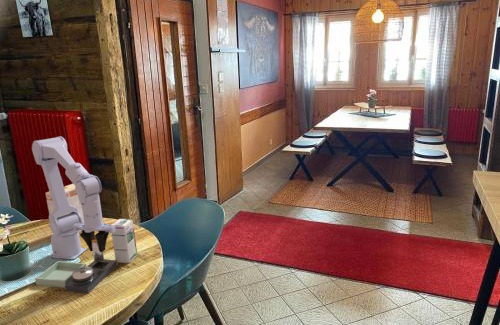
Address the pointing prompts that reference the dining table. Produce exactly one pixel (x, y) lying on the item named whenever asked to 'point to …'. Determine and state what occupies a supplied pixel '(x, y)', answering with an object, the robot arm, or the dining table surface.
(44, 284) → the tray
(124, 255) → the syrup box
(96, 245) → the glass vial
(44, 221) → the dining table surface
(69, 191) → the coffeecake box
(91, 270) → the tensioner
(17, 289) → the dining table surface
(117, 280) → the dining table surface
